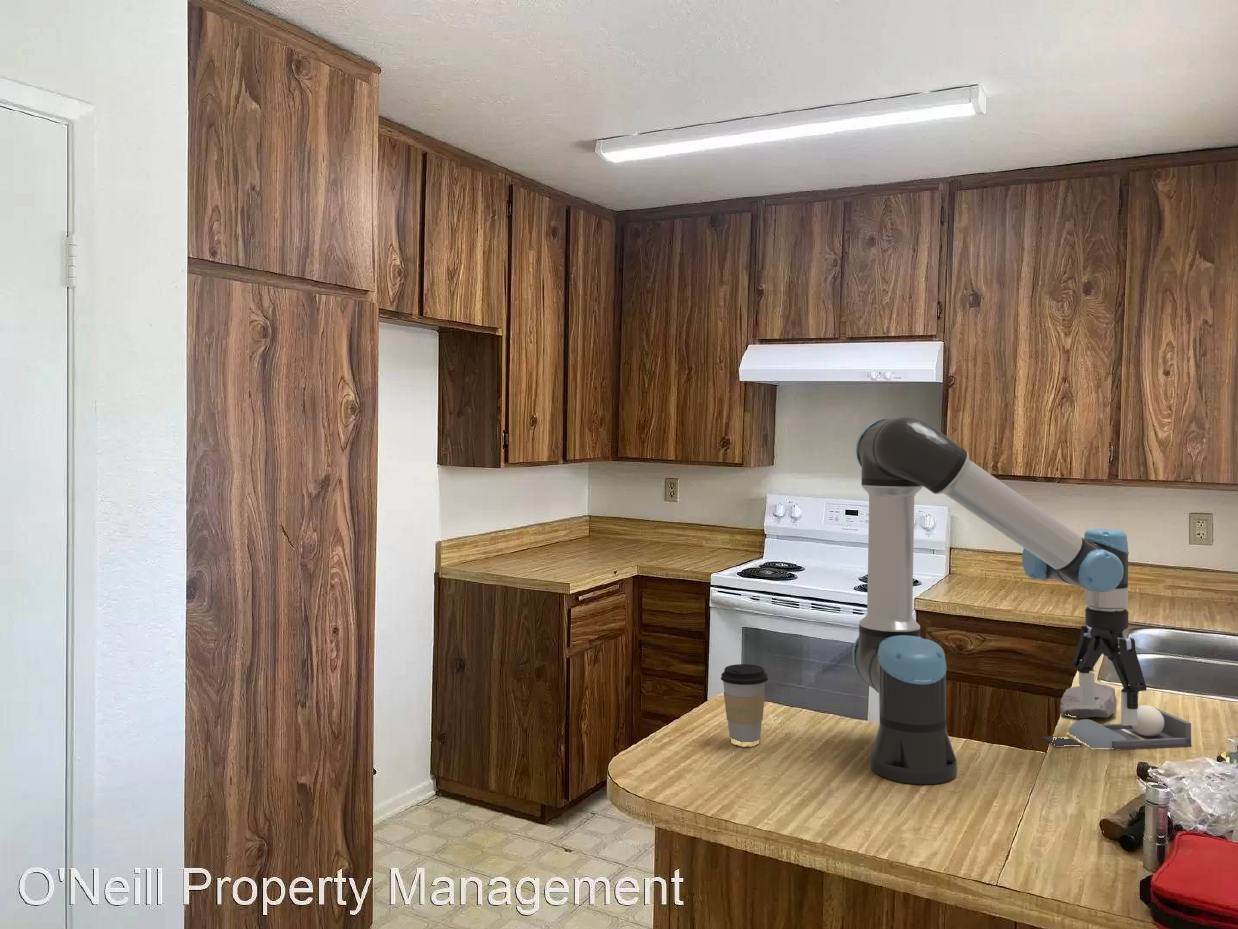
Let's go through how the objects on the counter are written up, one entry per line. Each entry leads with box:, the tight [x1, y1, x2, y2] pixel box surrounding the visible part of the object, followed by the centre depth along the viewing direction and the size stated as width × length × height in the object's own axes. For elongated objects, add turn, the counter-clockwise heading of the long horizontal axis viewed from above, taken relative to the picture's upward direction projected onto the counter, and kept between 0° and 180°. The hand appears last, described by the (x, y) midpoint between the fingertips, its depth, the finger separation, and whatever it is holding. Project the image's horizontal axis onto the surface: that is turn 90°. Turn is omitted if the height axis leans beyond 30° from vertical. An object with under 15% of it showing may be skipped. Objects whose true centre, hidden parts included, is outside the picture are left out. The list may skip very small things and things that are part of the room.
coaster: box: [1042, 735, 1082, 747], centre depth 179 cm, size 5×5×1 cm
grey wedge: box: [1067, 718, 1127, 749], centre depth 180 cm, size 9×8×8 cm
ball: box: [1131, 704, 1164, 737], centre depth 181 cm, size 6×6×6 cm
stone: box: [1059, 681, 1118, 719], centre depth 197 cm, size 13×10×6 cm
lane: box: [1101, 707, 1192, 750], centre depth 180 cm, size 16×11×4 cm
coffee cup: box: [720, 663, 769, 742], centre depth 183 cm, size 9×9×15 cm
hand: (1107, 714), depth 180 cm, fingers open, 13 cm apart
